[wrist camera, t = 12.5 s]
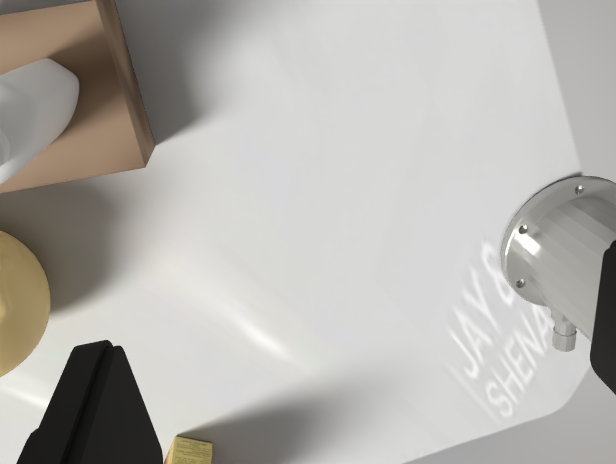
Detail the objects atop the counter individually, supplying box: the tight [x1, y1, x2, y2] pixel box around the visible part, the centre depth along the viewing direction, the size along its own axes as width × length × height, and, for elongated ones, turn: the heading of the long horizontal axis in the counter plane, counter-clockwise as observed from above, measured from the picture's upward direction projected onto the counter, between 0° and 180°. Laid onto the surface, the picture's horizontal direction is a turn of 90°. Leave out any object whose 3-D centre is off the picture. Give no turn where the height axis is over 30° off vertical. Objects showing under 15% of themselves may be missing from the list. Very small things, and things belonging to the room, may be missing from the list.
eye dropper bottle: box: [0, 58, 79, 185], centre depth 26 cm, size 4×6×12 cm
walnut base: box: [0, 0, 155, 193], centre depth 33 cm, size 10×10×5 cm
